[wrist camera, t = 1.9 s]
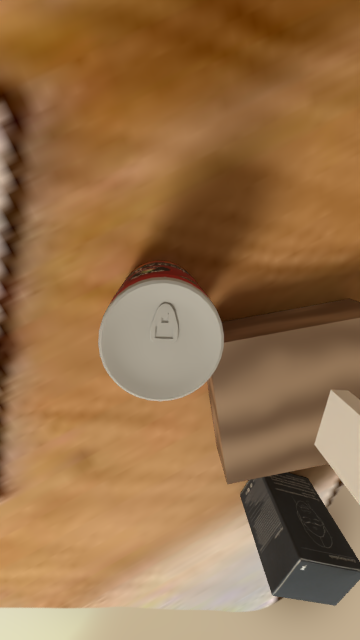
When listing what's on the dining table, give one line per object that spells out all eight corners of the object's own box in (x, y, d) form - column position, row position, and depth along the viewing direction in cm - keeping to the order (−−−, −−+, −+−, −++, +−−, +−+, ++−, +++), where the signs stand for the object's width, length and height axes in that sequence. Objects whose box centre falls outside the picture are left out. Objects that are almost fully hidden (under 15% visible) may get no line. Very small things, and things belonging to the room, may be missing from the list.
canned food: (190, 251, 25) (213, 265, 15) (204, 329, 28) (234, 387, 17) (110, 269, 25) (77, 295, 15) (132, 345, 28) (118, 414, 17)
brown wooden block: (199, 326, 28) (208, 345, 23) (349, 298, 28) (388, 312, 23) (216, 447, 33) (227, 484, 28) (343, 422, 33) (375, 454, 28)
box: (238, 494, 36) (271, 597, 26) (258, 462, 34) (301, 558, 24) (288, 507, 37) (336, 609, 27) (309, 477, 36) (369, 573, 26)
